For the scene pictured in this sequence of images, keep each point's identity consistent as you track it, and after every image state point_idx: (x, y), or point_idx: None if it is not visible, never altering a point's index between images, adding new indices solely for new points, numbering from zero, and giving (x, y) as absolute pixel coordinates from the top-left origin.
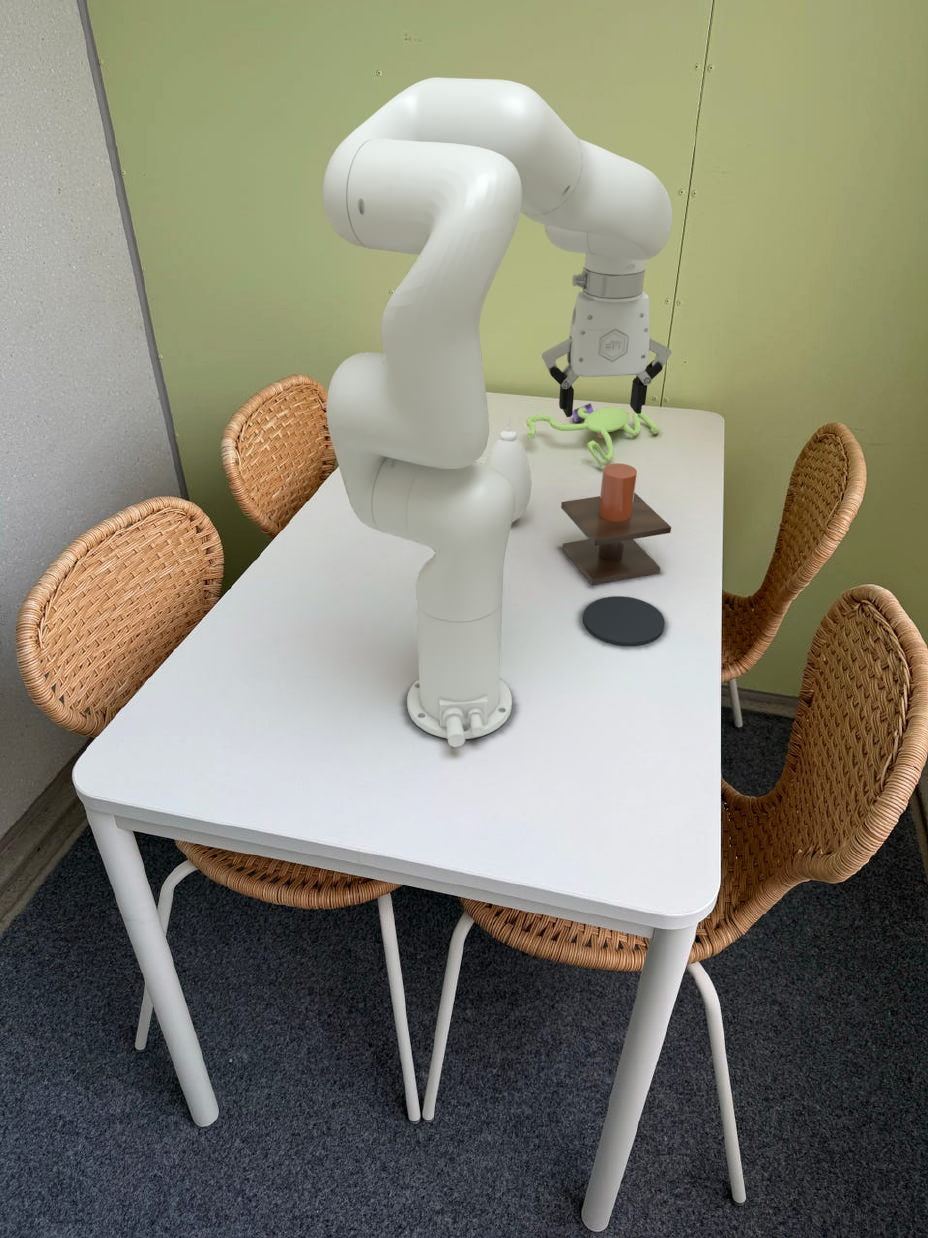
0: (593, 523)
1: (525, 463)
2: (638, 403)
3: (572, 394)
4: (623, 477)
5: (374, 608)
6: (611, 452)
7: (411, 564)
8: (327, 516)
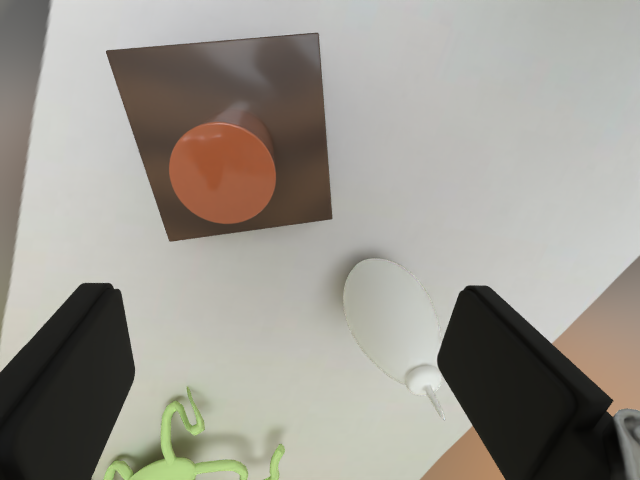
0: (297, 114)
1: (379, 323)
2: (78, 321)
3: (560, 370)
4: (225, 126)
5: (630, 71)
6: (166, 415)
7: (531, 180)
8: (565, 306)
